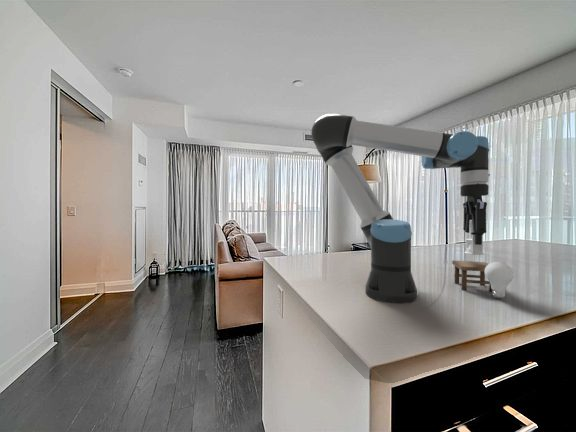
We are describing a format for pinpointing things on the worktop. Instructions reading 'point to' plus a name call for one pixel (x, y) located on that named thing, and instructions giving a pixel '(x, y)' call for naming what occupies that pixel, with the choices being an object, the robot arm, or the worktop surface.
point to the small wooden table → (466, 267)
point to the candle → (470, 239)
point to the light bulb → (499, 278)
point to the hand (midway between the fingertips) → (473, 252)
